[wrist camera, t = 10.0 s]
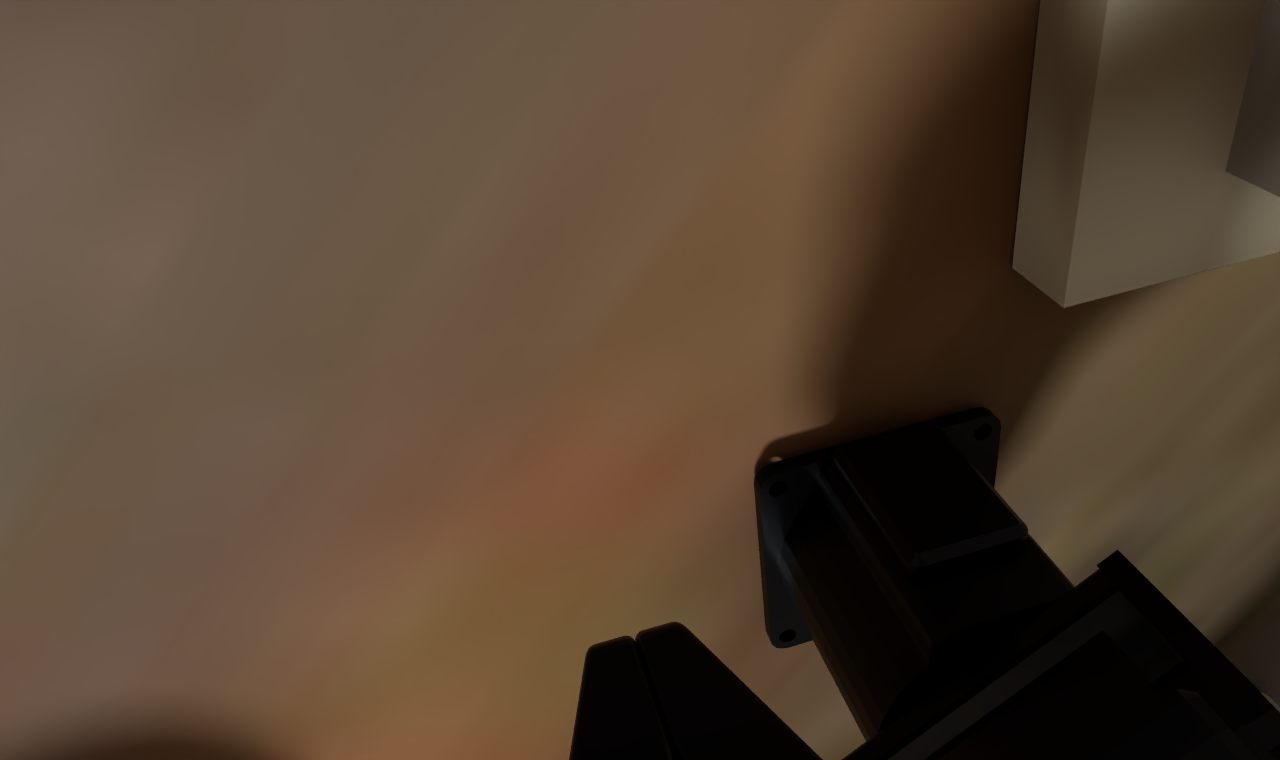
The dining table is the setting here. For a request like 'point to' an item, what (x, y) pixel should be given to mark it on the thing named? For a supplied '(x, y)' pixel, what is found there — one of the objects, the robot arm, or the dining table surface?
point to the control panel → (1149, 143)
